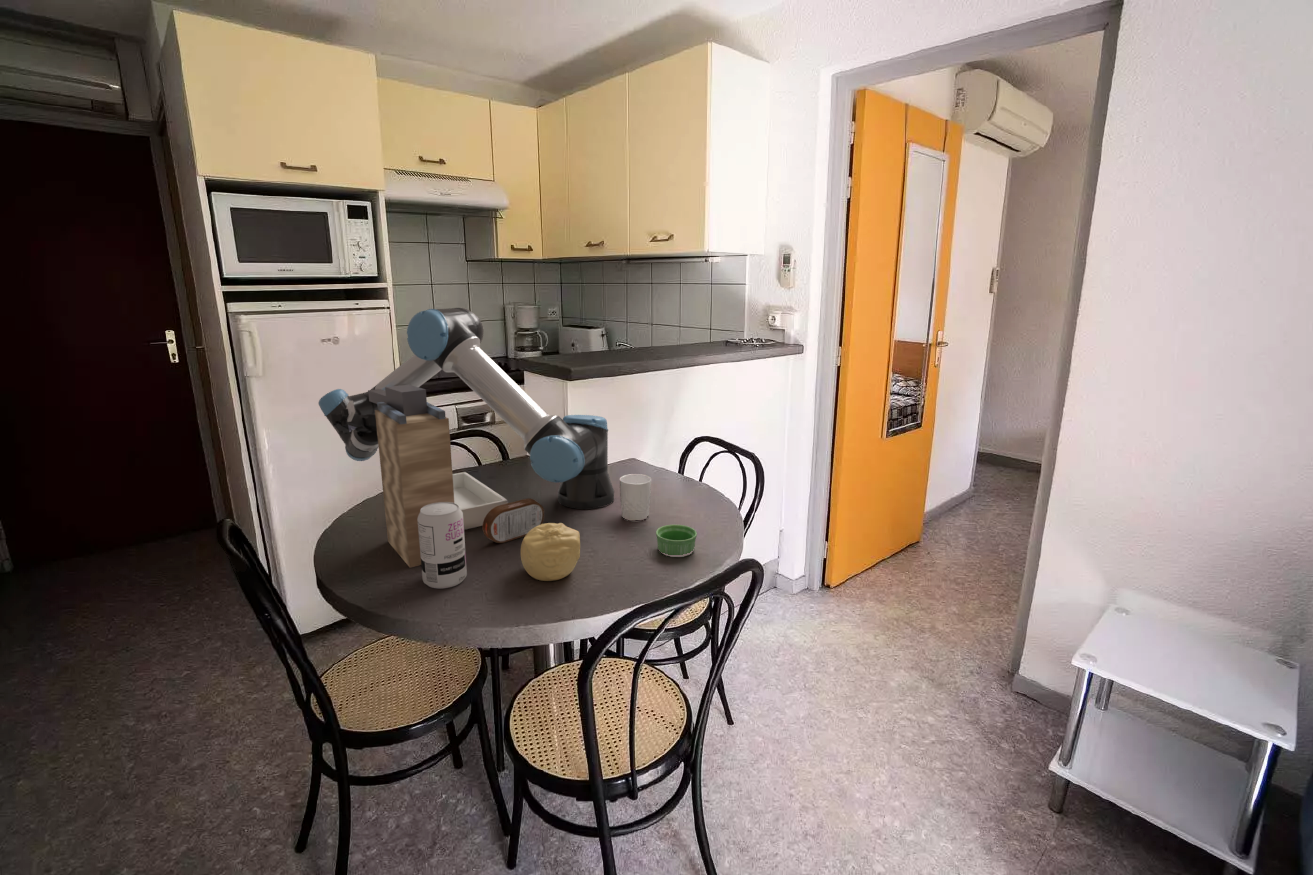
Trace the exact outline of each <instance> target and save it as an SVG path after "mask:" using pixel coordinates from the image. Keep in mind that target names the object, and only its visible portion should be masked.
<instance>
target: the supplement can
mask: <svg viewBox="0 0 1313 875" xmlns="http://www.w3.org/2000/svg"><path fill="white" fill-rule="evenodd" d="M417 521H418V532H419V544H420V555H421V565H420V566H421V576H422V577H421V578H422V581H423V583H424V584H425V585H426V586H427V587H430V588H432V589H449V588H453V587H455V586H458V585H459V584H461V583H462V582H463V581H464V580H465V578H466V577H467V575H468V571H467V569H468V568H467V557H466V556H467V555H466V543H465V542H466V540H465V539H466V538H465V530H464V523H463V512H462V511H461V509H460V508H459V505H458V504H456V503H452V502H438V503H432V504H428V505H426V506H424V507H422V508H421V510H420V513H419V515H418V518H417Z"/></svg>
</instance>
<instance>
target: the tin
mask: <svg viewBox="0 0 1313 875" xmlns="http://www.w3.org/2000/svg"><path fill="white" fill-rule="evenodd" d="M544 520H545V509H544V506H543V505H542V504H541V503H540V502H539V501H536V499H534V498H529V497H528V498H523V499H520V500H515V501H513V502H508V503H507V504H503V505H499V506H496V507H494V508H493V509H491V510H490V511H489V512H488V514H487V515H486V517H485V518H484V521H483V525H482V531H483V534H484V536H485V537H486V538H487V539H488V540H491V541H492V542H494V543H497V544H504V543H507V542H508V543H509V542H511V541H514V540H516V539H517V540H518V539H520V538H523V537H525V536H526V534H527V533H528V532H529V531H530V530H531V529H533V528H534V527H536V526H538V525H541V524H544Z"/></svg>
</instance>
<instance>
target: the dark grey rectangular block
mask: <svg viewBox="0 0 1313 875" xmlns="http://www.w3.org/2000/svg"><path fill="white" fill-rule="evenodd" d="M367 392H368V395H369V401H370V402H373V403H376V404H377V403H378V402H384V403H386V404H387V405H389V406H391V407H392V408H394V409H396V410H397V411H399V412H401V413H402V414H404V415H406V416H412V415H419V414H425V413H428V411H427V402H428V400H427V389H426V388H422V387H415V386H412V385H400V386H391V387H385V391H384V390H381V389H375V390H371V389H369V390H367Z"/></svg>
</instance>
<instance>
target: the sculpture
mask: <svg viewBox="0 0 1313 875" xmlns="http://www.w3.org/2000/svg"><path fill="white" fill-rule="evenodd" d="M580 558H581V536H580V531H578V530H576V529H574V528H571V527H568V526H567V525H566V524H564V523H562V522H559V523H555V522H548V523H542V524H541V525H538V526H536V527H534V528H533V529H531V530H530V531H529V532H528V533H527V534H526V536H524V538H523V539H522V542H521V545H520V559H521V563H522V567H523V568H524V570H525V571H526V573H527V574H528V575H529V576H531V578H533V579H535V580H537V581H538V580H539V581H542V582H543V581H544V582H552V581H553V582H554V581H558V580H561V579H564V578H565V577H567V576H569V575H570V574H571V573H572V572H573V571H574V569H575V567H576V565H577V563H578V561H579V559H580Z"/></svg>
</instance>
